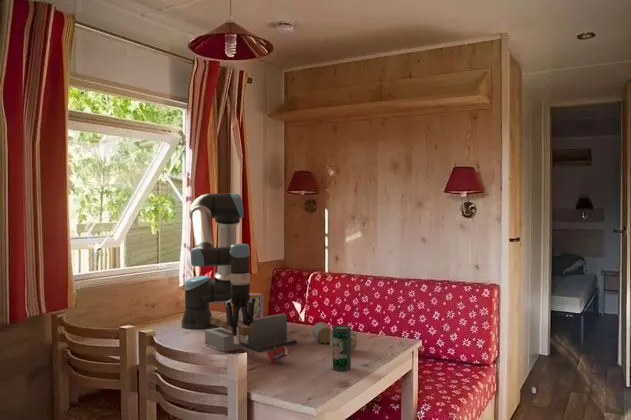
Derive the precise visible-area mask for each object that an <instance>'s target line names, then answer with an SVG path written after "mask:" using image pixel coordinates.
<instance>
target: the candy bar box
mask: <svg viewBox="0 0 631 420" xmlns="http://www.w3.org/2000/svg"><path fill="white" fill-rule="evenodd" d="M249 295H250V297H251V298H255V299H256V301H255V304H254V314H253V319H254V318H260V317H264V294H263V293H255V292H254V293H253V292H250V293H249ZM248 303H249V302H248ZM248 303H247V306H248ZM247 311H248V308H247ZM238 323H240V324H243V317H242V310H241V307H240V310H239V316H238ZM243 325H244V324H243Z"/></svg>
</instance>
